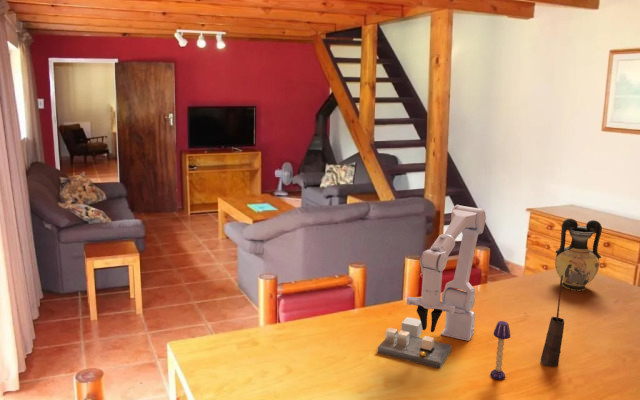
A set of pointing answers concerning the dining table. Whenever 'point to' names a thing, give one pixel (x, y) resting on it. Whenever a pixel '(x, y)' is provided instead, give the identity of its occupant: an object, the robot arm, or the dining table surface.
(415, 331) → the cap
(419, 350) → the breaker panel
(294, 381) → the dining table surface
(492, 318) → the dining table surface
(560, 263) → the amphora
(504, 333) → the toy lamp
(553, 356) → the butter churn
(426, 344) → the button
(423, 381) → the dining table surface
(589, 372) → the dining table surface
